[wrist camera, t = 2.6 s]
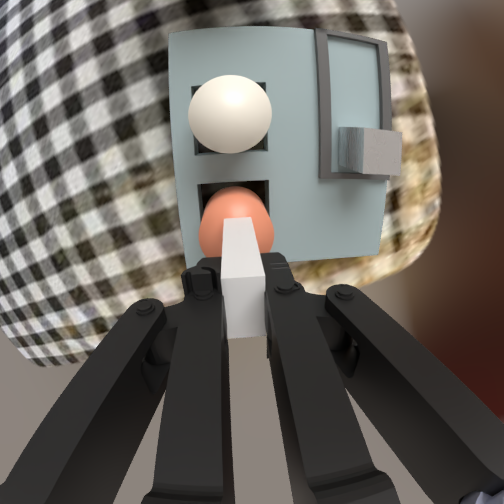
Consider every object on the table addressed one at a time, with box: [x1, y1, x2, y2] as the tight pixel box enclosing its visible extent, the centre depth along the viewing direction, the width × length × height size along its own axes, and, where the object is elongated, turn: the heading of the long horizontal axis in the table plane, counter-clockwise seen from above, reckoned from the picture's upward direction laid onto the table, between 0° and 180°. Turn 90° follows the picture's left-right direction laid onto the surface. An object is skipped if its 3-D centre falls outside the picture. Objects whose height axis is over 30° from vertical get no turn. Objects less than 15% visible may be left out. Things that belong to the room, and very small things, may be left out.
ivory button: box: [188, 75, 272, 153], centre depth 15 cm, size 4×4×4 cm
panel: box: [168, 26, 392, 269], centre depth 19 cm, size 16×18×3 cm
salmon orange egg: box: [199, 186, 274, 257], centre depth 18 cm, size 4×4×4 cm
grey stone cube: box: [338, 127, 402, 176], centre depth 16 cm, size 3×3×4 cm
